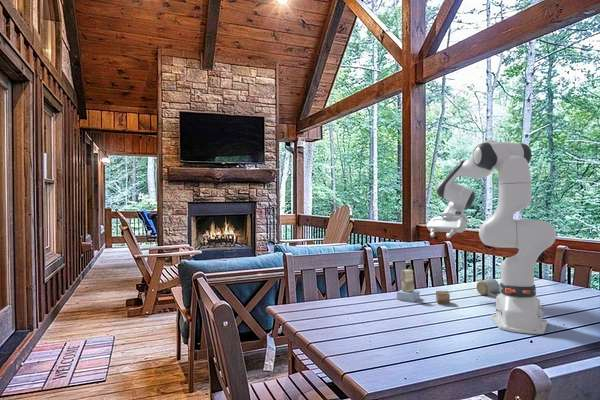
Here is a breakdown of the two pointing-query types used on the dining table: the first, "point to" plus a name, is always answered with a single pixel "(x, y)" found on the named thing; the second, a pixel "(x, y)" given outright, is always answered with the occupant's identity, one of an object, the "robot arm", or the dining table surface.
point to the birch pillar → (407, 280)
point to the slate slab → (408, 295)
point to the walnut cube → (443, 297)
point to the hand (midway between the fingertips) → (439, 236)
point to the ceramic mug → (488, 287)
